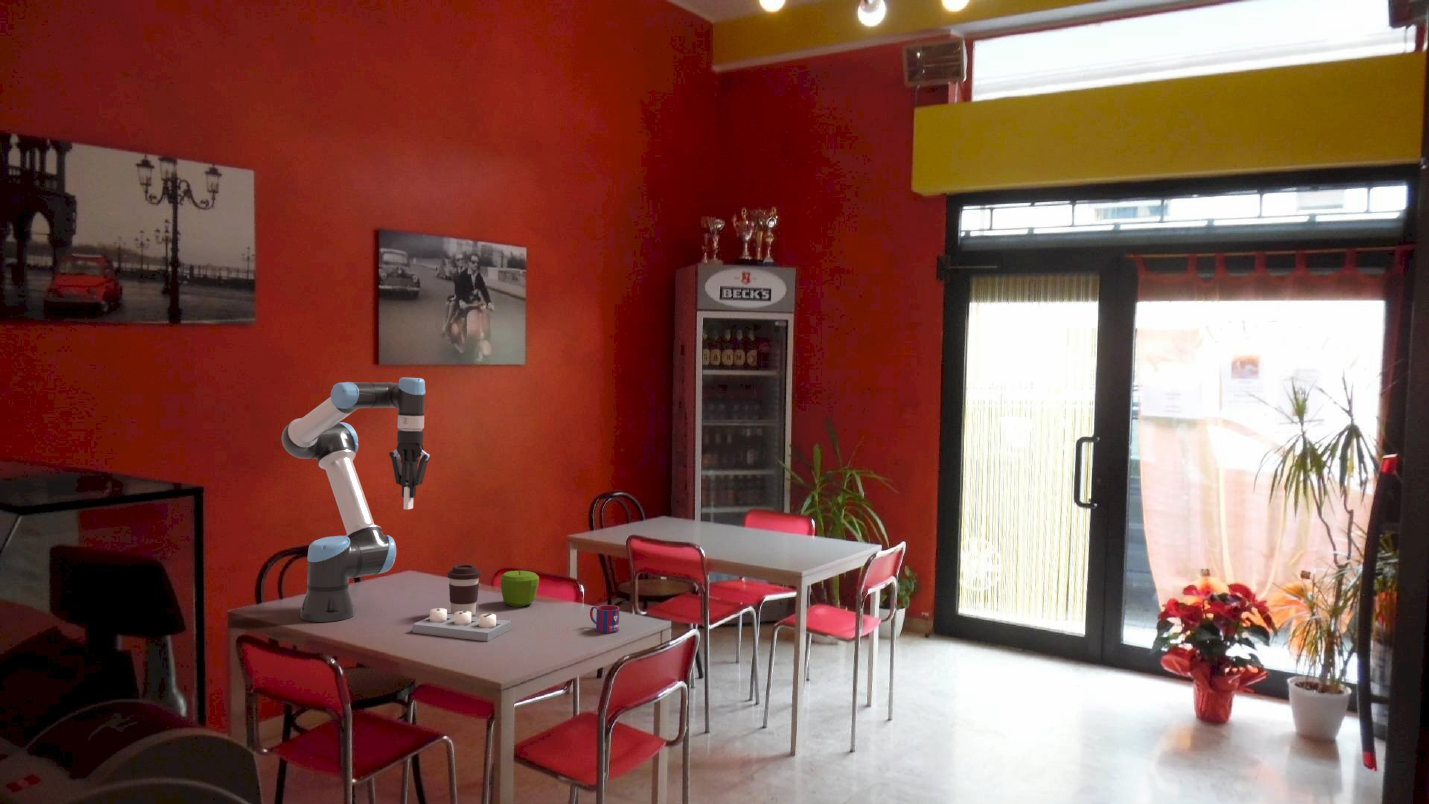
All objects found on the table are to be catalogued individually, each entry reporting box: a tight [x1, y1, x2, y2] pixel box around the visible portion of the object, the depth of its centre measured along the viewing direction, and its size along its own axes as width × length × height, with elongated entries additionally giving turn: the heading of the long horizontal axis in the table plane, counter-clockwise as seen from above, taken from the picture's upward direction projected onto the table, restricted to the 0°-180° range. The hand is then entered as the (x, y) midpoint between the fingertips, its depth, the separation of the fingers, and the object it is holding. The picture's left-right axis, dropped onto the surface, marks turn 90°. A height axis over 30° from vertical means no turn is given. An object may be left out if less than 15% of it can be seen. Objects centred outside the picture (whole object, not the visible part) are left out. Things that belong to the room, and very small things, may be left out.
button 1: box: [429, 607, 448, 623], centre depth 286 cm, size 5×5×5 cm
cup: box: [589, 604, 620, 634], centre depth 290 cm, size 7×10×7 cm
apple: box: [500, 569, 540, 608], centre depth 317 cm, size 12×12×11 cm
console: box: [412, 613, 512, 642], centre depth 284 cm, size 24×14×2 cm, turn 74°
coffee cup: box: [447, 564, 482, 617], centre depth 301 cm, size 10×10×15 cm
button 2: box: [454, 611, 471, 626], centre depth 284 cm, size 5×5×5 cm
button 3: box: [478, 612, 497, 629], centre depth 282 cm, size 5×5×5 cm
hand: (408, 508), depth 291 cm, fingers closed
